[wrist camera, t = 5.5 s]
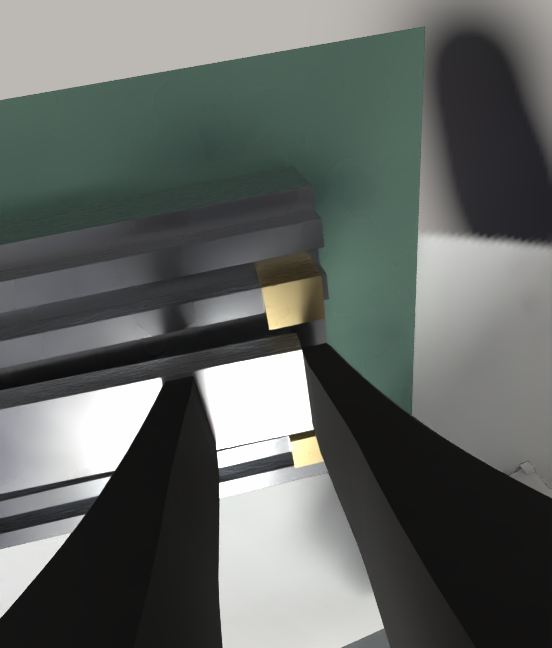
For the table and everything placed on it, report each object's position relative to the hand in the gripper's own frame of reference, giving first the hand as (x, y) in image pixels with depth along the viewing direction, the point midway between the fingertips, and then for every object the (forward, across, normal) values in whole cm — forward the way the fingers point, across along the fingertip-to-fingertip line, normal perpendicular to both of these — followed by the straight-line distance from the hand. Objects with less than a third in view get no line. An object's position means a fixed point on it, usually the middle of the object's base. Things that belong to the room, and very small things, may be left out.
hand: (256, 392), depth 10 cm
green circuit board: (+4, +4, 0) cm, 6 cm away
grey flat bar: (+1, +4, 0) cm, 4 cm away
